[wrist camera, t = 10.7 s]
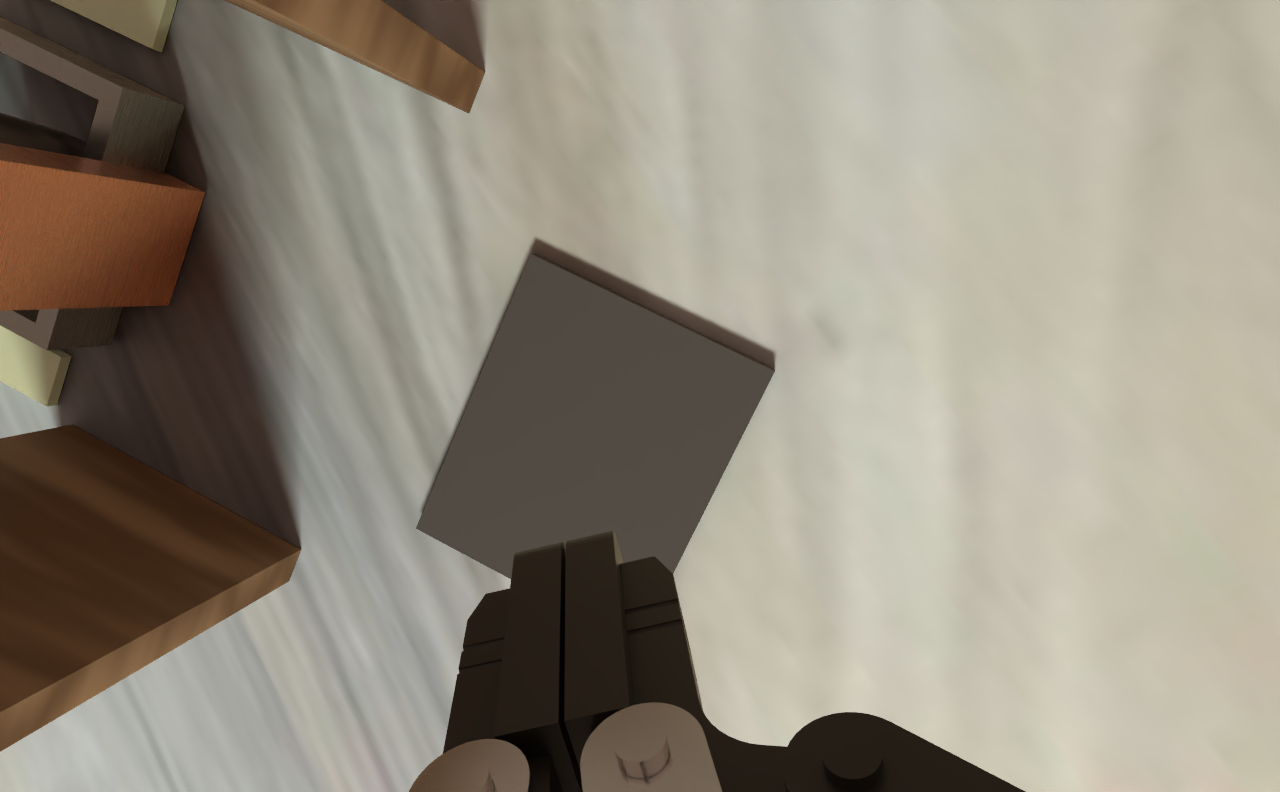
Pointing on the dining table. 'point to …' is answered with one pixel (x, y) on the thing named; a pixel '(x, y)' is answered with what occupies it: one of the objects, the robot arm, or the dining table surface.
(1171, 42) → the dining table surface
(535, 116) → the dining table surface
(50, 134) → the beverage cup
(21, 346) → the pair of cream slabs
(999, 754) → the dining table surface
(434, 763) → the robot arm
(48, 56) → the shallow grey tray
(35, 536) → the tunnel
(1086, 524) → the dining table surface
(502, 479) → the dark grey slab
